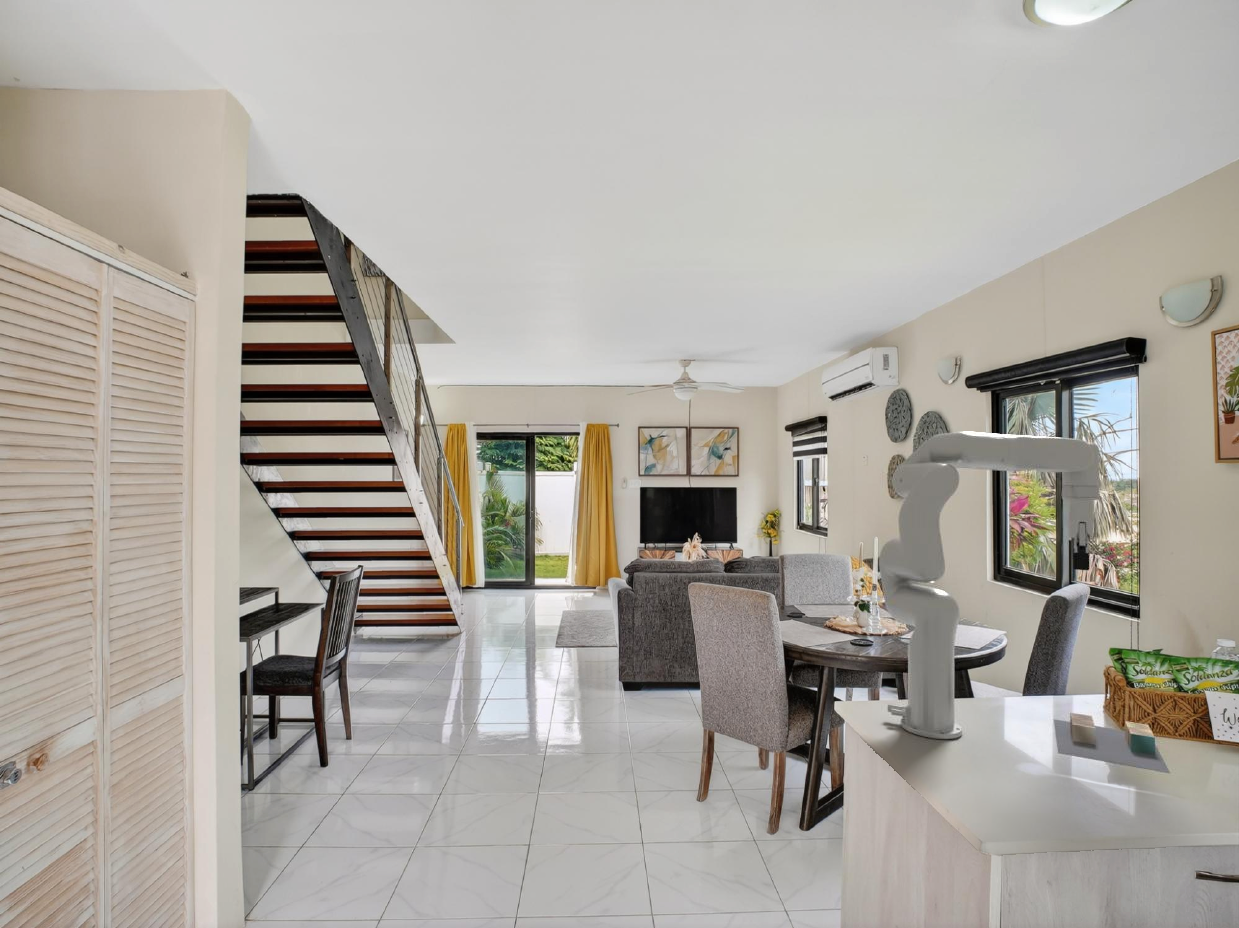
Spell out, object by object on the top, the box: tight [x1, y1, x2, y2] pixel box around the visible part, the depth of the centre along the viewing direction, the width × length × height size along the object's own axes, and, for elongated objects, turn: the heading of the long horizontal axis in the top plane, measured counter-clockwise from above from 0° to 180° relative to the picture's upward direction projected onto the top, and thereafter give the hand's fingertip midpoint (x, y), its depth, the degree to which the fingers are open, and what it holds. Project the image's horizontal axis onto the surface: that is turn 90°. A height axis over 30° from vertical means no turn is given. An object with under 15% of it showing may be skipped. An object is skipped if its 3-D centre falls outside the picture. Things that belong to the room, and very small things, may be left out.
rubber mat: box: [1053, 718, 1171, 774], centre depth 145 cm, size 18×24×1 cm
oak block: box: [1124, 720, 1156, 755], centre depth 144 cm, size 4×4×9 cm
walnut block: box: [1069, 712, 1096, 745], centre depth 149 cm, size 4×4×9 cm
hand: (1081, 569), depth 164 cm, fingers closed
